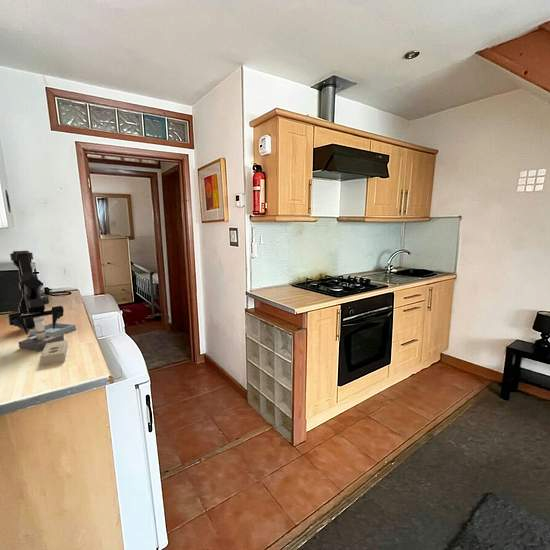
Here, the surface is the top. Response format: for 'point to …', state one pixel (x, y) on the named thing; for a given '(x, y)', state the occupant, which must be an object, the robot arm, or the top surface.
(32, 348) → the socket block
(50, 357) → the electrical outlet
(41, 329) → the light bulb
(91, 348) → the top surface
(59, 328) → the parts tray
